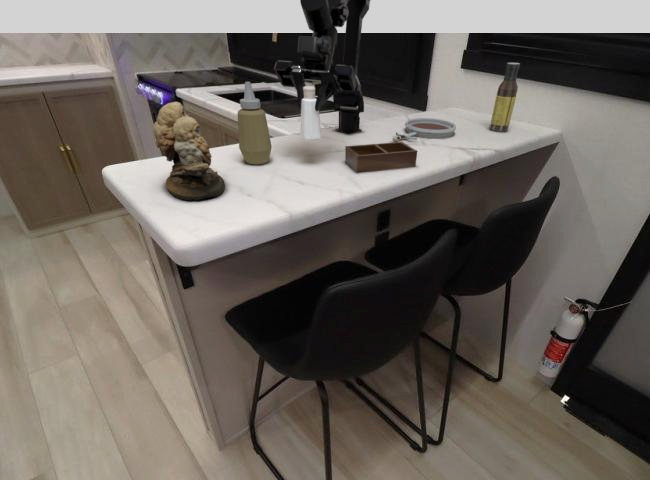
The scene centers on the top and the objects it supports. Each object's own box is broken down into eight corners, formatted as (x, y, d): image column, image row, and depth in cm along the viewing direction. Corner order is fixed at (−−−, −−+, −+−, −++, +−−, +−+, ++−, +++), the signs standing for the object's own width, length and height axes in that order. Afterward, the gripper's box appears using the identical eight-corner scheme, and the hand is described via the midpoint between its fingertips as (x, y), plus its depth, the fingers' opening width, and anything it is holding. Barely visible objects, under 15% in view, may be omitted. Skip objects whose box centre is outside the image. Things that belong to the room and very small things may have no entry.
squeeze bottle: (279, 159, 99) (272, 81, 88) (261, 168, 93) (251, 86, 82) (254, 154, 102) (244, 78, 91) (234, 163, 96) (221, 82, 85)
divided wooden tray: (345, 162, 100) (345, 146, 97) (400, 156, 104) (402, 141, 102) (357, 172, 93) (357, 156, 91) (415, 166, 98) (417, 150, 96)
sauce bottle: (501, 127, 134) (518, 61, 122) (511, 132, 130) (529, 64, 117) (485, 127, 133) (500, 61, 121) (494, 132, 128) (511, 64, 116)
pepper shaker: (313, 141, 90) (311, 89, 83) (295, 137, 92) (292, 86, 85) (326, 136, 94) (325, 86, 87) (308, 133, 96) (306, 83, 89)
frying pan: (372, 128, 118) (424, 114, 134) (372, 138, 120) (423, 123, 136) (416, 140, 109) (466, 123, 125) (415, 150, 111) (464, 132, 127)
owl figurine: (237, 196, 80) (223, 107, 69) (180, 208, 74) (154, 114, 64) (210, 170, 91) (194, 91, 81) (159, 179, 86) (134, 95, 75)
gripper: (273, 17, 83) (256, 82, 82) (354, 21, 80) (339, 89, 78) (289, 56, 94) (275, 113, 93) (361, 60, 91) (348, 121, 89)
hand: (307, 109), depth 88 cm, fingers closed on pepper shaker, 4 cm apart
